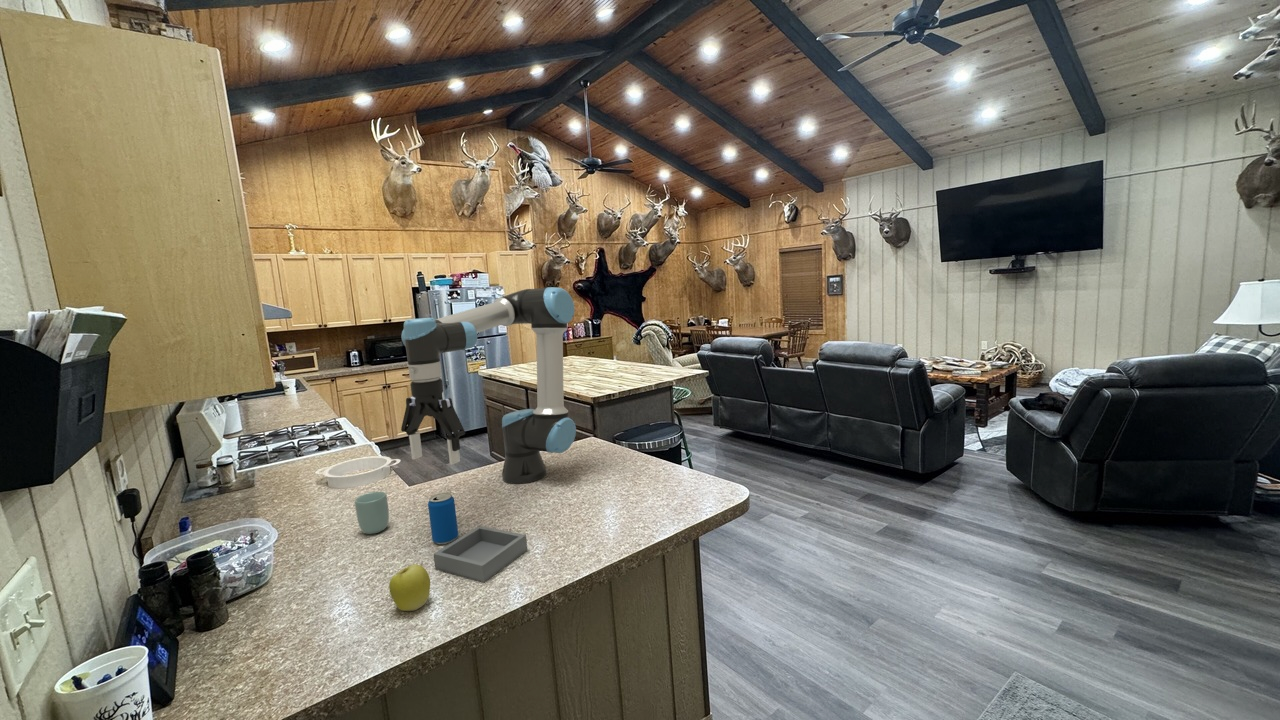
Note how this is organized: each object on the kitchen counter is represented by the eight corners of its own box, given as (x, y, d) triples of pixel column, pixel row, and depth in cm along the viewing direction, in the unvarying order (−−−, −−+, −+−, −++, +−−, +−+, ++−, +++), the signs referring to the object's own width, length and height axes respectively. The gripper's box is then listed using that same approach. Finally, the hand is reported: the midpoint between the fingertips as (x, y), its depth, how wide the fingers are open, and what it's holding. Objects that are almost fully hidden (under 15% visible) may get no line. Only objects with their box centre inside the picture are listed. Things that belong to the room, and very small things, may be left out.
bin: (481, 540, 136) (479, 525, 136) (527, 550, 129) (525, 534, 129) (435, 569, 123) (433, 553, 122) (484, 582, 116) (482, 565, 115)
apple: (444, 594, 110) (425, 559, 107) (410, 623, 105) (389, 587, 102) (427, 582, 116) (408, 548, 112) (394, 609, 110) (373, 574, 107)
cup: (396, 525, 148) (392, 492, 147) (376, 538, 141) (371, 503, 140) (374, 523, 151) (369, 490, 149) (353, 536, 143) (348, 501, 142)
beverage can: (432, 537, 140) (427, 494, 138) (458, 532, 142) (453, 490, 140) (432, 548, 133) (426, 503, 132) (459, 542, 136) (453, 498, 134)
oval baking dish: (409, 464, 204) (408, 452, 204) (392, 484, 183) (391, 471, 182) (331, 472, 200) (329, 460, 199) (304, 494, 178) (302, 481, 177)
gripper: (379, 380, 134) (390, 460, 137) (450, 383, 123) (460, 470, 125) (404, 375, 140) (414, 451, 143) (473, 377, 129) (482, 460, 132)
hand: (435, 460), depth 134 cm, fingers open, 13 cm apart
